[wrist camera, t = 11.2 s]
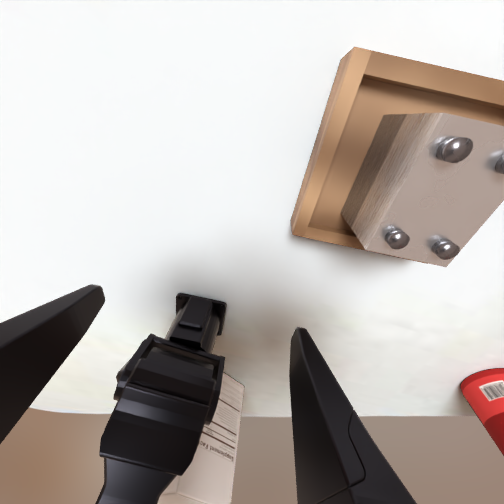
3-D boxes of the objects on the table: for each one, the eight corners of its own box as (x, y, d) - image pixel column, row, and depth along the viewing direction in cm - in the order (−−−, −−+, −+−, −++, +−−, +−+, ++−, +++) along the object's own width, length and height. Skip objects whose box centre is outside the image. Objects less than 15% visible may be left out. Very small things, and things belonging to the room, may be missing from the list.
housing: (398, 225, 18) (453, 273, 12) (340, 212, 18) (369, 255, 12) (456, 130, 14) (573, 139, 9) (383, 114, 14) (453, 112, 8)
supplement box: (213, 398, 42) (186, 516, 30) (178, 377, 39) (131, 499, 27) (246, 386, 39) (231, 516, 26) (210, 362, 36) (174, 495, 23)
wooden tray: (409, 246, 21) (427, 263, 18) (290, 220, 21) (292, 234, 18) (512, 98, 14) (562, 94, 12) (340, 59, 14) (354, 46, 12)
